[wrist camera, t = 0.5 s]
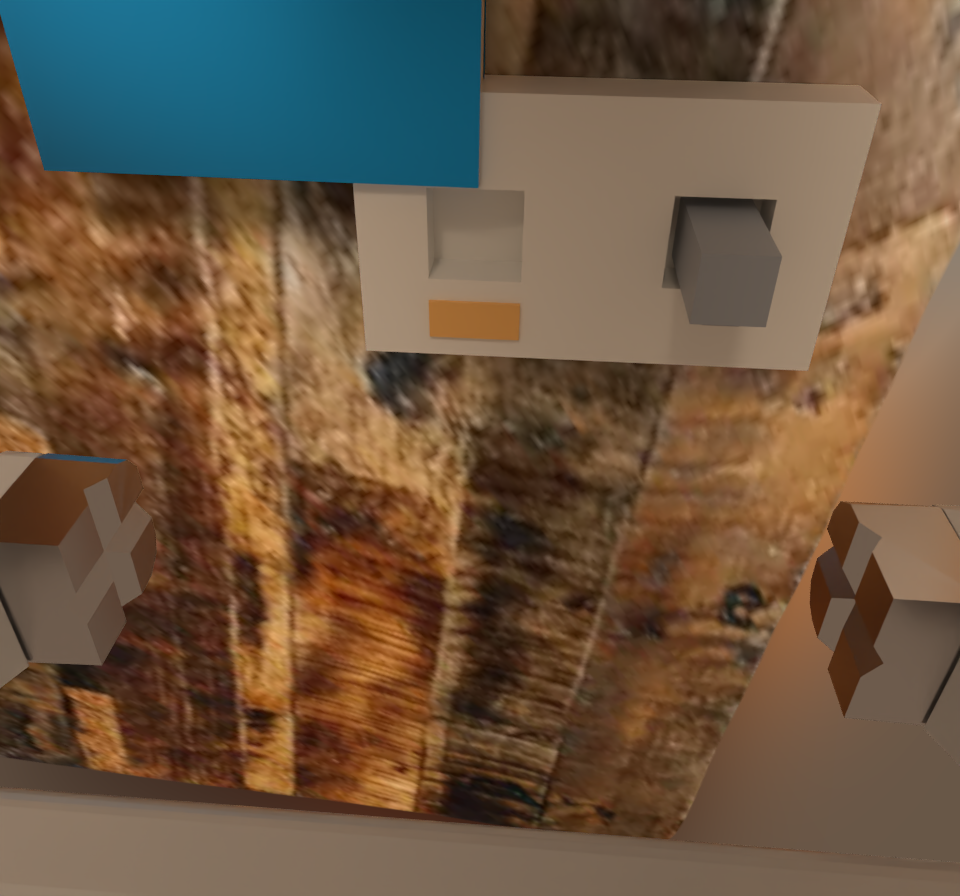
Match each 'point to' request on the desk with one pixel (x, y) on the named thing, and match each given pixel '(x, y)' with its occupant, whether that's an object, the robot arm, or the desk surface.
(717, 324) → the plug
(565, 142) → the socket board
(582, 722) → the desk surface
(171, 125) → the book
